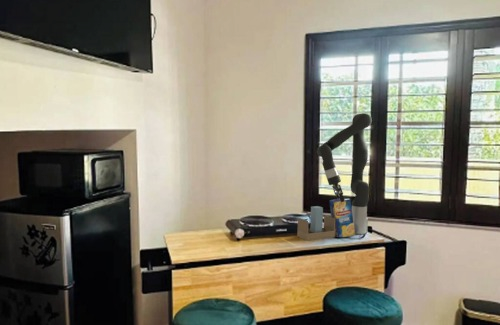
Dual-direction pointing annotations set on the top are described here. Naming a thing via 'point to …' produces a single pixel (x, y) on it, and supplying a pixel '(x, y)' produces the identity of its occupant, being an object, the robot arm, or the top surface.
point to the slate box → (316, 219)
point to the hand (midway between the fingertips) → (341, 201)
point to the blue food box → (342, 217)
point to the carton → (326, 233)
